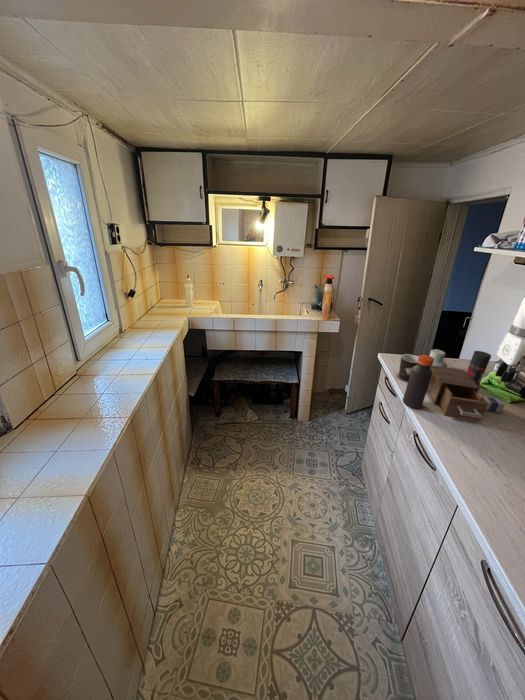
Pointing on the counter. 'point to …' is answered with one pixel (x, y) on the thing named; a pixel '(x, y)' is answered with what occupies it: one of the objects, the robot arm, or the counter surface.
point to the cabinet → (448, 381)
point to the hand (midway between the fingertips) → (502, 378)
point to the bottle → (418, 382)
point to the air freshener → (438, 358)
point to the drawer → (461, 403)
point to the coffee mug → (407, 366)
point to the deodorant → (478, 366)
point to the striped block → (493, 404)
